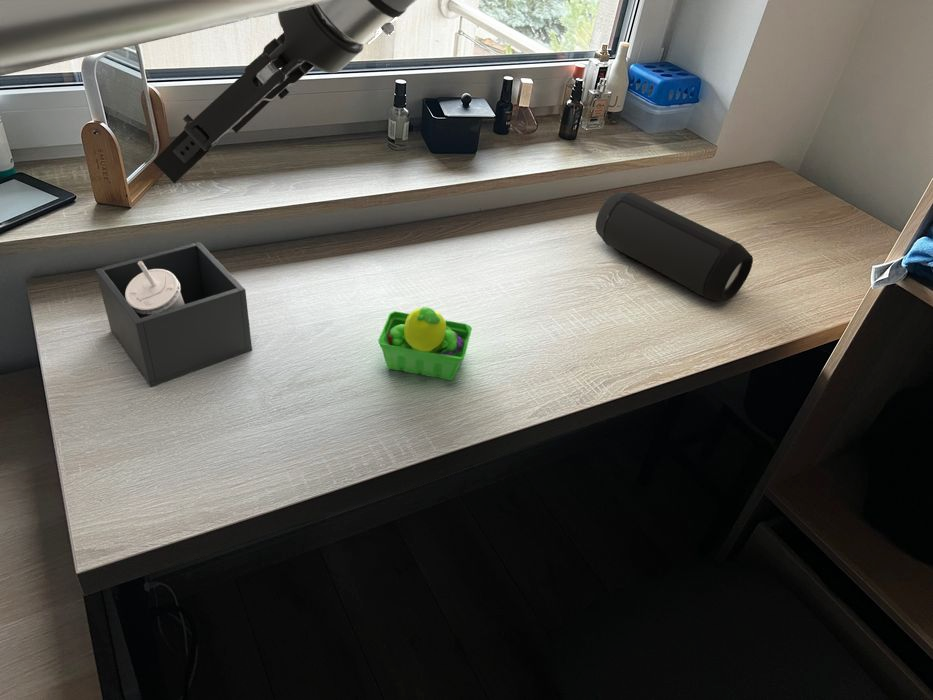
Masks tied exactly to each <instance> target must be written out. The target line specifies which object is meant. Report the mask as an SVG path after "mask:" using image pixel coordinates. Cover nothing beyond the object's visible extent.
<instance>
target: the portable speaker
mask: <svg viewBox="0 0 933 700" xmlns="http://www.w3.org/2000/svg"><path fill="white" fill-rule="evenodd" d="M595 231H596V233H597V234H598V236H599V237H600V239H602V241H603V242H604V243H605V244H606V245H608V246H609V247H611V248H613V249H615V250H617V251H619V252H620V253H622V254H624V255H626V256H628V257H629V258H632V259H634V260H635V261H637V262H639V263H641V264H643V265H644V266H646V267H648V268H650V269H651V270H654V271H656V272H657V273H660V274H662V275H663V276H665V277H667V278H669V279H671V280H673V281H674V282H677V283H678V284H680V285H682V286H683V287H685V288H687V289H689V290H691V291H693V292H694V293H696V294H698V295H700V296H702V297H704V298H706V299H707V300H713V301H720V302H728V301H730V300H731V299H732V298H733V297H734V296H736V294H737V293H738V292H739V291H740V289H741V288H742V287H743V285H744V284H745V282H746V281H747V279H748V276H749V275H750V272H751V270H752V267H753V263H754V258H753V255H752V254H751V253H750V252H749V251H748V250H747V249H746V248H745V246H743V244H741V243H739V242H738V241H736V240H733V239H731V238H729V237H727V236H725V235H723V234H721V233H719V232H717V231H715V230H712V229H710V228H708V227H706V226H704V225H702V224H700V223H698V222H696V221H694V220H692V219H689V218H687V217H685V216H683V215H681V214H679V213H677V212H675V211H672V210H670V209H669V208H667V207H665V206H662V205H660V204H658V203H656V202H654V201H652V200H650V199H648V198H645V197H644V196H641V195H640V194H638V193H636V192H629V191H617V192H614V193H613V194H611V195H610V196H609V197H607V199H606V200H605V201H604V203H603V204H602V205H601V207H600V210H599V211H598V213H597V216H596V220H595Z"/></svg>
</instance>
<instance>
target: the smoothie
mask: <svg viewBox="0 0 933 700" xmlns="http://www.w3.org/2000/svg"><path fill="white" fill-rule="evenodd" d="M138 265H139V266H140V268H141V270H142V271H143V272H142V273H141V274H139V275H137V276H136V277H135V278H133V279H132V280H131V282H130V283H129V284H128V286H127V288H126V292H125V298H126V301H127V302H128V303H129V305H130V306H131V307H132V309H133V310H134V311H135V312H137V313H140V314H141V315H142V316H143V317H146V316H149V315H152V314H156V313H159V312H162V311H165V310H168V309H172V308H175V307H178V306H181V305H185V304H184V301H183V298H182V296H181V293H180V289H181V288H180V283H179V281H178V280H177V279H176V277H175V276H174V274H172V273H171V272H169V271H167V270H164V269H152V270H147V268H146V267H145V265H144V263H143V262H142V261H139V262H138Z"/></svg>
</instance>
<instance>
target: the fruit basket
mask: <svg viewBox="0 0 933 700" xmlns="http://www.w3.org/2000/svg"><path fill="white" fill-rule="evenodd" d="M472 329H473V328H472V326H471V325H469V324H468V323H464V322H458V321H451V320H446V319H445V318H444V317H443V315H442V314H441V313H439V311H436V310H434V309H433V308H431V307H429V306H428V307H427V306H423V307H420V308H416V309H414V310H412V311H411V312H410V313H408V312H407V313H406V312H401V311H391V312H389V314H388V316H387V319H386V321H385V323H384V326H383V328H382V331H381V333H380V335H379V336H378V337H379V338H378V344H379V346H380V348H381V350H382V353H383V357H384V360H385V364H386V368H387V369H388V370H392V371H393V370H394V371H403V372H405V373H409V374H415V375H416V374H417V375H419V374H420V375H423V376H426V377H432V378H439V379H441V380H448V381H453V380H454V378H455V376H456V374H457V372H458V369H459V367H460V365H461V363H462V362H463V361H464V359H465V357H466V354H467V349H468V345H469V341H470V338H471V334H472Z"/></svg>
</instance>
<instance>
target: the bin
mask: <svg viewBox="0 0 933 700" xmlns="http://www.w3.org/2000/svg"><path fill="white" fill-rule="evenodd" d="M139 261H142V262H143V263H144V265H145V267H146V268H147V270H152V269H164V270H167V271H169V272H171V273H172V274H174V276H175V277H176V279H177V280H178V281H179V283H180V288H181V289H180V293H181V296H182V298H183V301H184V304H185V305H181V306H178V307H175V308H172V309H168V310H165V311H162V312H159V313H156V314H152V315H149V316H146V317H143V316H142V315H141V314H140V313H137V312H135V311H134V310H133V309H132V307H131V306H130V305H129V303H128V302H127V301H126V298H125V292H126V288H127V286H128V284H129V283H130V282H131V280H132V279H133V278H135V277H136V276H137V275H139V274H141V273H142V272H143V271H142V270H141V268H140V266H139V265H138V262H139ZM95 274H96V277H97V282H98V285H99V289H100V293H101V298H102V301H103V305H104V308H105V313H106V316H107V320H108V324H109V328H110V331H111V333H112V334H113V336H114V337H115V338H116V340H117V342H118V343H119V345H120V346H121V347H122V349H123V350H124V351H125V353H126V354H127V356H128V358H129V359H130V360H131V362H132V363H133V364H134V366H135V367H136V368H137V370H138V371H139V373H140V374H141V376H142V377H143V379H144V380H145V381H146V383H147V384H148V386H149V387H150V388H152V387H155V386H157V385H160V384H162V383H166V382H169V381H171V380H174V379H177V378H180V377H182V376H185V375H187V374H190V373H192V372H196V371H199V370H201V369H204V368H206V367H209V366H212V365H214V364H215V365H216V364H217V363H220V362H223V361H226V360H230V359H231V358H235V357H237V356H240V355H242V354H245V353H248V352H250V351H252V350H253V345H252V335H251V328H250V319H249V318H250V317H249V309H248V300H247V292H246V291H247V290H246V288H245V287H243V285H242V284H241V283H240V282H239V281H238V280H237V279H236V278H235V277H234V276H233V275H232V274H231V273H230V272H229V271H228V270H227V269H226V268H225V267H224V266H223V264H222V263H220V261H219V260H218V259H216V258H215V256H213V254H212V253H211V252H210V251H209V250H208V249H207V248H206V247H205V246H204V245H203V244H202V243H201V242H200V241H197V242H194V243H188V244H186V245H182V246H178V247H174V248H171V249H170V248H169V249H166V250H163V251H159V252H155V253H152V254H147V255H144V256H140V257H137V258H133V259H129V260H125V261H121V262H118V263H114V264H110V265H107V266H103V267H99V268H96V269H95Z"/></svg>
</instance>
